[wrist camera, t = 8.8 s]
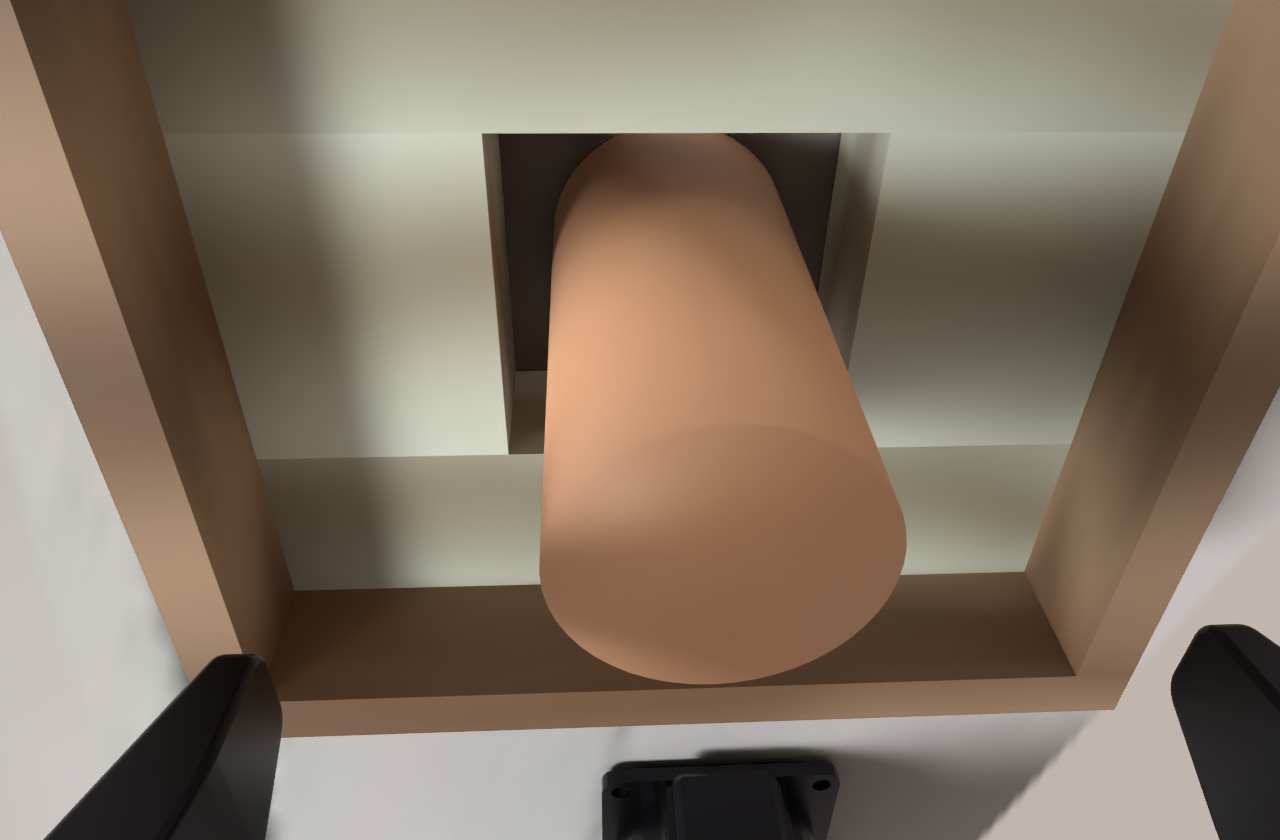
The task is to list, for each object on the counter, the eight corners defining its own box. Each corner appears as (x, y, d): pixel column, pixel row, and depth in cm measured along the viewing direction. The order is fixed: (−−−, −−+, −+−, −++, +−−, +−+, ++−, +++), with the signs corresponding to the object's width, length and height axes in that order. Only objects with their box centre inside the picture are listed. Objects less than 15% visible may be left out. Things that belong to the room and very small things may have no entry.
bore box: (1015, 519, 22) (1113, 709, 18) (283, 536, 21) (213, 739, 17) (1277, -241, 13) (1582, -207, 9) (54, -264, 12) (-195, -237, 8)
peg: (770, 330, 18) (873, 679, 12) (557, 332, 18) (547, 688, 12) (795, 121, 16) (941, 420, 9) (548, 122, 16) (529, 427, 9)
